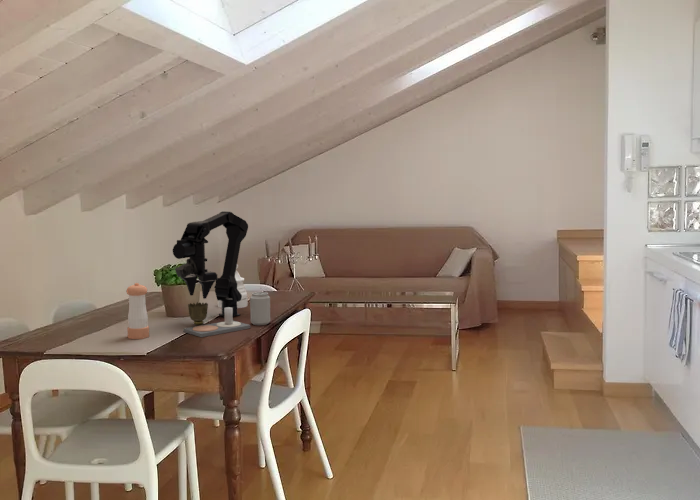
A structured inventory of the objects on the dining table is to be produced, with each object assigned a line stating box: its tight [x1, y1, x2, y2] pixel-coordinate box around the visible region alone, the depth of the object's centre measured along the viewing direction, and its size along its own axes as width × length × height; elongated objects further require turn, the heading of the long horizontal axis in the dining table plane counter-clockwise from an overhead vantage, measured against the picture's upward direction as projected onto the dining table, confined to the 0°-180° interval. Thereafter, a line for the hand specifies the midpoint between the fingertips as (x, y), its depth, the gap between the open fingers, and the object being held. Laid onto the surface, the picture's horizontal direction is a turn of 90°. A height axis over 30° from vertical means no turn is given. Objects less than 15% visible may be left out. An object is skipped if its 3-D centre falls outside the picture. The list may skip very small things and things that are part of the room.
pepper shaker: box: [126, 282, 150, 340], centre depth 246 cm, size 7×7×19 cm
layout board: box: [183, 307, 251, 338], centre depth 258 cm, size 12×21×8 cm, turn 133°
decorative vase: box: [187, 301, 209, 326], centre depth 267 cm, size 8×7×8 cm
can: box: [249, 291, 271, 326], centre depth 268 cm, size 8×8×12 cm
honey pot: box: [216, 264, 249, 309], centre depth 304 cm, size 13×13×18 cm
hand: (198, 296), depth 266 cm, fingers open, 9 cm apart
